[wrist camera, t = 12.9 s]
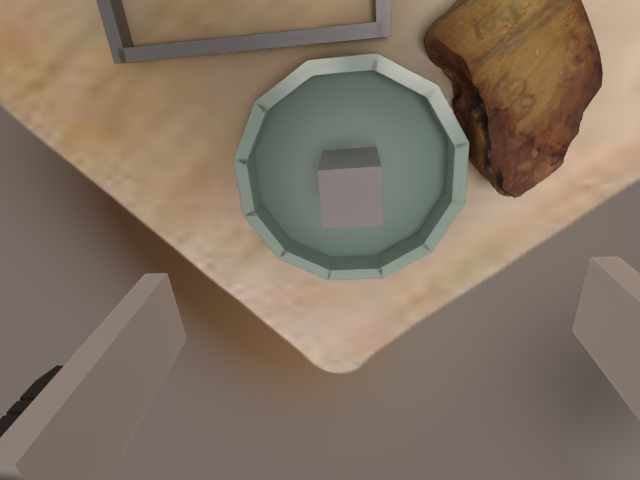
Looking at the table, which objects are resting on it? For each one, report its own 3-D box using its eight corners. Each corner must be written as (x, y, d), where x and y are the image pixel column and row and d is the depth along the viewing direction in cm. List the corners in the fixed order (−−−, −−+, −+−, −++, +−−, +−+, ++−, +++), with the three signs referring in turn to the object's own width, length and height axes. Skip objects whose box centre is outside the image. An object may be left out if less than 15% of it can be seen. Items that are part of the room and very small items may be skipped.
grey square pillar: (323, 150, 33) (317, 170, 28) (376, 146, 33) (381, 166, 27) (327, 200, 35) (322, 228, 29) (377, 197, 34) (382, 225, 29)
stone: (414, 11, 29) (427, 5, 25) (543, -62, 27) (584, -83, 22) (478, 186, 35) (498, 208, 30) (589, 139, 32) (630, 154, 28)
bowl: (229, 66, 32) (216, 68, 28) (463, 44, 30) (476, 44, 27) (263, 264, 39) (255, 283, 36) (450, 256, 37) (459, 275, 34)
